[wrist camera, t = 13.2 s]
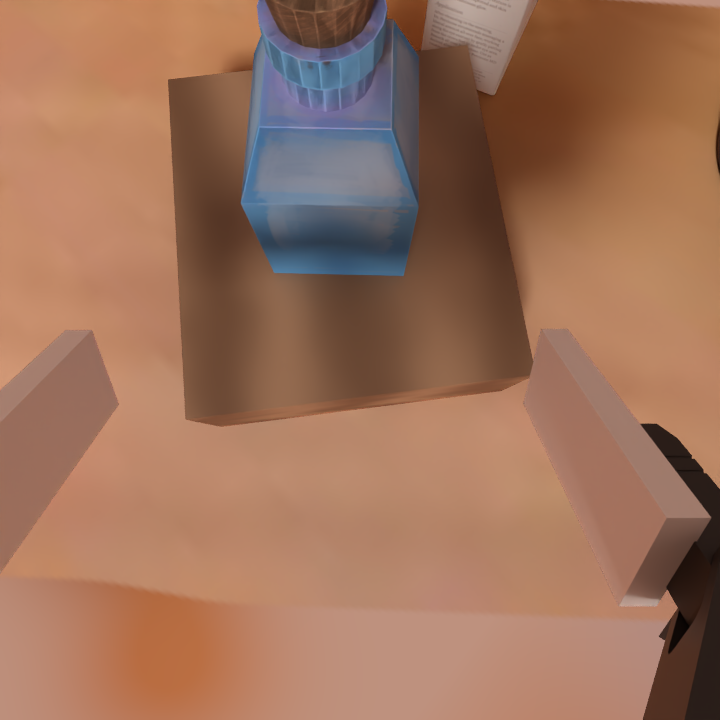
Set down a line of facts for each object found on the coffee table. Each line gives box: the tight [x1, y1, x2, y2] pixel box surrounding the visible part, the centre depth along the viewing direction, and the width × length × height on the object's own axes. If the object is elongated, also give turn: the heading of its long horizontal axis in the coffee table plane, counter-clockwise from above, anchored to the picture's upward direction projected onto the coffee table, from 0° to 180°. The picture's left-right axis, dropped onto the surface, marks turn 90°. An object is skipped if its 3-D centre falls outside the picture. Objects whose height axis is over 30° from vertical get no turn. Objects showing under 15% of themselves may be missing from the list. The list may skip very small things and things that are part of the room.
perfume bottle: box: [241, 0, 419, 276], centre depth 17 cm, size 6×6×12 cm
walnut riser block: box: [168, 45, 533, 427], centre depth 26 cm, size 16×18×6 cm
